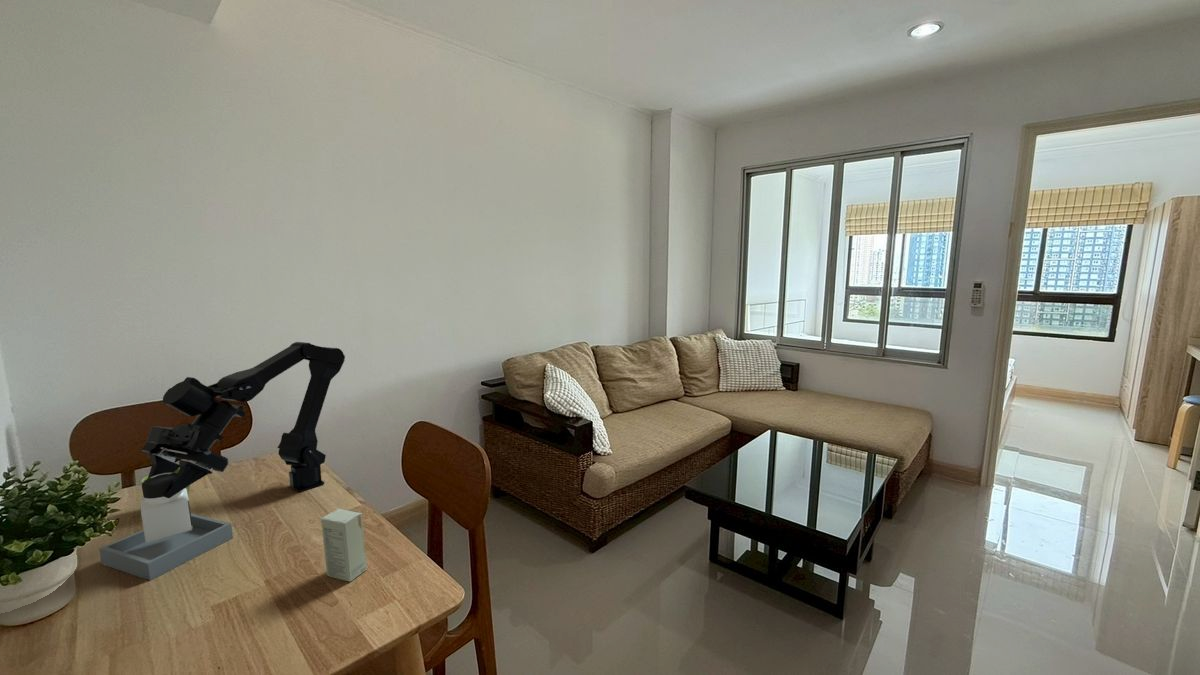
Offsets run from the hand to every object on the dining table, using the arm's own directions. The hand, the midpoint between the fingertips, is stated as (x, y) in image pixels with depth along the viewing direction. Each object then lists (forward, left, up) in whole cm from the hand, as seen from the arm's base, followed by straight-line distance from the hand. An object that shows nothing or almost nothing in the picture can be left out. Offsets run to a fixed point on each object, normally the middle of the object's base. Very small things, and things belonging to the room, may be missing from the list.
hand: (155, 495), depth 95 cm
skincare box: (-21, +36, -13) cm, 44 cm away
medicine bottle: (-1, 0, -9) cm, 9 cm away
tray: (-1, 0, -13) cm, 13 cm away
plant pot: (-5, -23, -13) cm, 27 cm away
